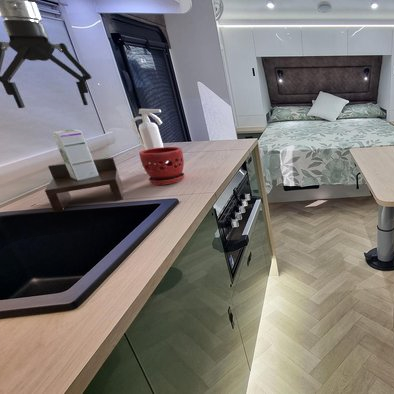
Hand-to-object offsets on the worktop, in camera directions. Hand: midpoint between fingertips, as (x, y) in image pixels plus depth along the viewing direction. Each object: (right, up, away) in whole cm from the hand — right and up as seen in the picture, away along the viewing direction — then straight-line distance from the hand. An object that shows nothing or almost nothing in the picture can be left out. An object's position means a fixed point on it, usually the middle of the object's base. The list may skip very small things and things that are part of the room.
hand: (55, 106), depth 84 cm
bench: (+2, -27, +10) cm, 28 cm away
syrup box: (+1, -20, +8) cm, 22 cm away
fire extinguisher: (+5, -16, +37) cm, 41 cm away
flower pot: (+17, -20, +25) cm, 37 cm away
